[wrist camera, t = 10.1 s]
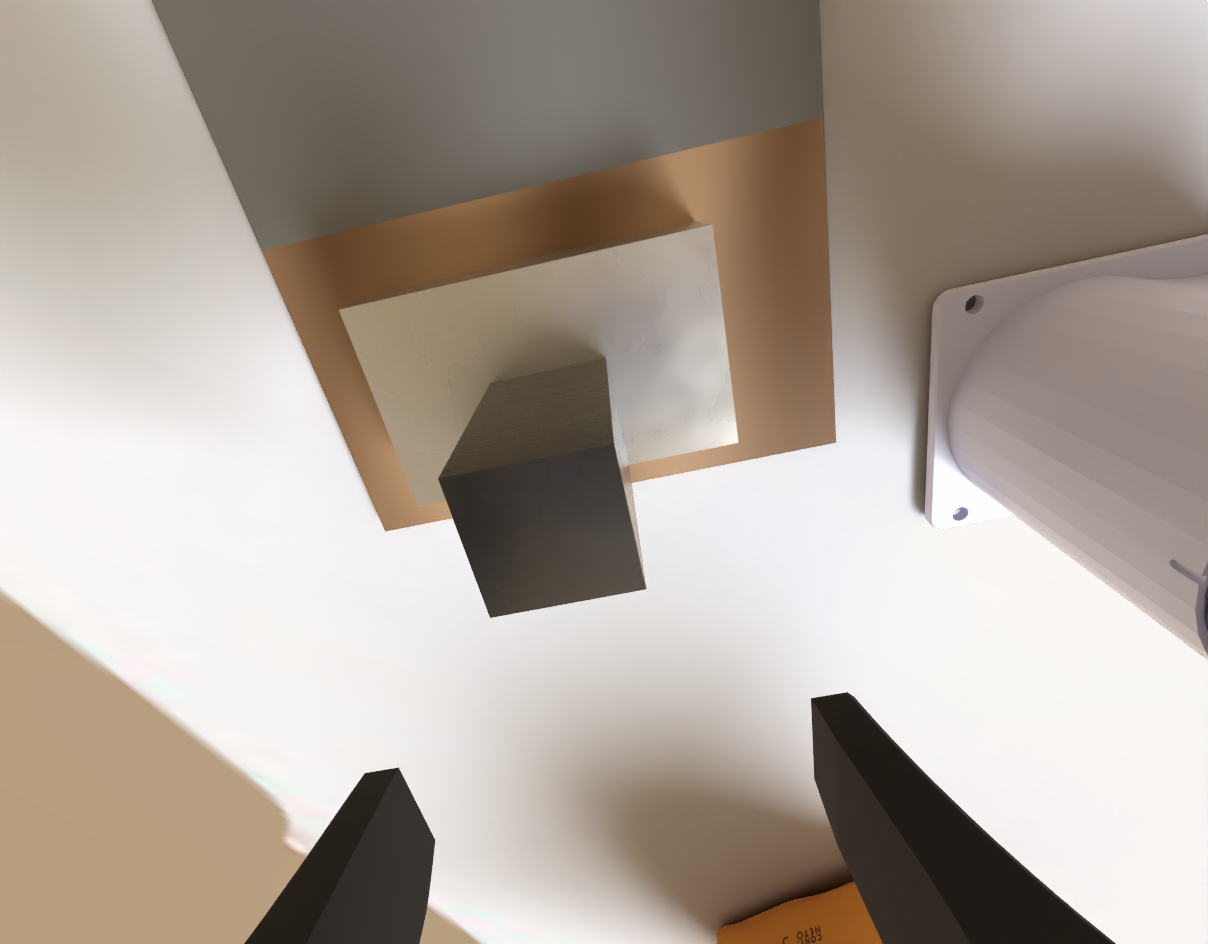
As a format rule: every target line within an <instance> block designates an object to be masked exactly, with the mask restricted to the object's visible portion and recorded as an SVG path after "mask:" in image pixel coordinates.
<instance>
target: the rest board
mask: <svg viewBox="0 0 1208 944" xmlns="http://www.w3.org/2000/svg"><path fill="white" fill-rule="evenodd" d="M691 221H699V222H703V223H708V224H713V232H714V241H715V249H716V258H717V266H718V274H719V283H720V291H721V300H722V308H723V316H724V325H725V333H726V342H727V350H728V359H729V367H730V375H731V384H732V392H733V401H734V409H735V417H736V426H737V434H738V443H735V444H730V445H725V446H720V447H715V448H710V449H705V450H700V451H695V452H690V453H685V454H680V455H675V456H670V457H665V458H660V459H655V460H650V461H645V462H640V463H635V464H630V465H629V470H630V477H631V483H633V482H638V481H643V480H648V479H653V478H658V477H663V476H669V475H674V474H679V473H684V472H689V471H694V470H699V469H704V468H709V467H714V466H719V465H724V464H729V463H734V462H740V461H745V460H750V459H755V458H760V457H765V456H770V455H775V454H780V453H785V452H790V451H795V450H800V449H805V448H811V447H816V446H821V445H826V444H831V443H836V431H835V405H834V379H833V353H832V327H831V301H830V274H829V248H828V222H827V196H826V170H825V144H824V118H818V119H814V120H810V121H806V122H802V123H797V124H793V125H789V126H785V127H781V128H776V129H772V130H768V131H764V132H760V133H755V134H751V135H747V136H743V137H738V138H734V139H730V140H726V141H722V142H717V143H713V144H709V145H705V146H701V147H696V148H692V149H688V150H684V151H680V152H675V153H671V154H667V155H663V156H658V157H654V158H650V159H646V160H642V161H637V162H633V163H629V164H625V165H621V166H616V167H612V168H608V169H604V170H600V171H595V172H591V173H587V174H583V175H579V176H574V177H570V178H566V179H562V180H557V181H553V182H549V183H545V184H541V185H536V186H532V187H528V188H524V189H520V190H515V191H511V192H507V193H503V194H499V195H494V196H490V197H486V198H482V199H477V200H473V201H469V202H465V203H461V204H456V205H452V206H448V207H444V208H440V209H435V210H431V211H427V212H423V213H419V214H414V215H410V216H406V217H402V218H398V219H393V220H389V221H385V222H381V223H376V224H372V225H368V226H364V227H360V228H355V229H351V230H347V231H343V232H339V233H334V234H330V235H326V236H322V237H318V238H313V239H309V240H305V241H301V242H296V243H292V244H288V245H284V246H280V247H275V248H271V249H267V250H263V251H262V252H263V254H264V257H265V259H266V261H267V263H268V266H269V268H270V270H271V272H272V275H273V277H274V279H275V282H276V284H277V286H278V288H279V291H280V293H281V295H282V297H283V300H284V302H285V304H286V307H287V309H288V311H289V313H290V316H291V318H292V320H293V322H294V325H295V327H296V329H297V332H298V334H299V336H300V338H301V341H302V343H303V345H304V347H305V350H306V352H307V354H308V357H309V359H310V361H311V363H312V366H313V368H314V370H315V372H316V375H317V377H318V379H319V382H320V384H321V386H322V388H323V391H324V393H325V395H326V397H327V400H328V402H329V404H330V407H331V409H332V411H333V413H334V416H335V418H336V420H337V422H338V425H339V427H340V429H341V432H342V434H343V436H344V438H345V441H346V443H347V445H348V447H349V450H350V452H351V454H352V457H353V459H354V461H355V463H356V466H357V468H358V470H359V472H360V475H361V477H362V479H363V482H364V484H365V486H366V488H367V491H368V493H369V495H370V497H371V500H372V502H373V504H374V507H375V509H376V511H377V513H378V516H379V518H380V520H381V522H382V525H383V527H384V529H385V531H390V530H395V529H400V528H405V527H410V526H415V525H420V524H425V523H430V522H435V521H440V520H445V519H450V518H453V517H452V515H451V512H450V509H449V507H448V504H447V502H446V501H445V502H440V503H435V504H430V505H425V506H420V507H418V506H417V503H416V501H415V498H414V496H413V493H412V491H411V488H410V486H409V483H408V481H407V478H406V476H405V473H404V471H403V468H402V466H401V463H400V461H399V459H398V456H397V454H396V451H395V449H394V446H393V444H392V441H391V439H390V436H389V434H388V431H387V429H386V426H385V424H384V421H383V419H382V416H381V414H380V411H379V409H378V406H377V404H376V401H375V399H374V396H373V394H372V392H371V389H370V387H369V384H368V382H367V379H366V377H365V374H364V372H363V369H362V367H361V364H360V362H359V359H358V357H357V354H356V352H355V349H354V347H353V344H352V342H351V339H350V337H349V334H348V332H347V329H346V327H345V325H344V322H343V320H342V317H341V315H340V312H339V309H341V308H344V307H346V306H348V305H351V304H353V303H355V302H357V301H360V300H362V299H364V298H366V297H369V296H371V295H373V294H377V293H381V292H385V291H390V290H394V289H398V288H403V287H407V286H412V285H416V284H420V283H425V282H429V281H433V280H438V279H442V278H447V277H451V276H455V275H460V274H464V273H468V272H473V271H477V270H481V269H486V268H490V267H495V266H499V265H503V264H508V263H512V262H516V261H521V260H525V259H529V258H534V257H538V256H543V255H547V254H551V253H556V252H560V251H564V250H569V249H573V248H577V247H582V246H586V245H591V244H595V243H599V242H604V241H608V240H612V239H617V238H621V237H626V236H630V235H634V234H639V233H643V232H647V231H652V230H656V229H660V228H665V227H669V226H674V225H678V224H682V223H687V222H691Z"/></svg>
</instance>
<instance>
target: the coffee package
mask: <svg viewBox="0 0 1208 944" xmlns="http://www.w3.org/2000/svg"><path fill="white" fill-rule="evenodd" d="M718 944H883V943H882V941H881V939H880V937H879V934H878V932H877V930H876V928H875V926H874V924H873V921H872V919H871V917H870V915H869V913H868V911H867V908H866V906H865V904H864V902H863V900H862V897H861V895H860V893H859V891H858V889H857V886H856V884H855V882H854V881H853V882H850V883H848V884H845V885H843V886H840V887H838V888H836V889H833V890H830V891H828V892H825V893H821V894H817V895H813V896H808V897H804V898H799V899H794V900H791V901H788V902H785V903H783V904H780V905H778V906H776V907H773V908H771V909H769V910H767V911H764V912H762V913H760V914H758V915H755V916H753V917H750V918H748V919H746V920H744V921H741V922H739V923H735V924H732V925H727V926H724V927H722V928H721V929H720V931H719V933H718Z"/></svg>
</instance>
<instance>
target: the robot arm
mask: <svg viewBox="0 0 1208 944" xmlns="http://www.w3.org/2000/svg"><path fill="white" fill-rule="evenodd" d="M974 295H975V298H976V302H975V305H974V306H973V307H972V309H971V310H968V311H966V309H965V305H966V302H967V301H968V300H969V298H970V297H972V296H974ZM960 507H962V508H961V510H960V511H959V512H958V513H957V514H955V515H953V512H954V511H955V510H956V509H958V508H960ZM1010 516H1016V517H1017V518H1019V519H1020V520H1021V521H1023V522H1024V523H1025V524H1027V525H1028V526H1029V527H1031V528H1032V529H1034V530H1035V531H1036V532H1038V533H1039V534H1040V535H1042V536H1043V537H1044V538H1046V539H1047V540H1048V541H1050V542H1051V543H1052V544H1054V545H1055V546H1056V547H1058V548H1059V549H1060V550H1062V551H1063V552H1064V553H1066V554H1067V555H1068V556H1070V557H1071V558H1072V559H1074V560H1075V561H1076V562H1078V563H1079V564H1080V565H1082V566H1083V567H1084V568H1086V569H1087V570H1088V571H1090V572H1091V573H1092V574H1094V575H1095V576H1096V577H1098V578H1099V579H1100V580H1102V581H1103V582H1104V583H1106V584H1107V585H1108V586H1110V587H1111V588H1112V589H1114V590H1115V591H1116V592H1118V593H1119V594H1120V595H1122V596H1123V597H1124V598H1126V599H1127V600H1128V601H1130V602H1131V603H1132V604H1134V605H1135V606H1136V607H1138V608H1139V609H1140V610H1142V611H1143V612H1144V613H1146V614H1147V615H1148V616H1150V617H1151V618H1152V619H1154V620H1155V621H1156V622H1158V623H1159V624H1160V625H1162V626H1163V627H1164V628H1166V629H1167V630H1169V631H1170V632H1171V633H1173V634H1174V635H1175V636H1177V637H1178V638H1179V639H1181V640H1182V641H1183V642H1185V643H1186V644H1187V645H1189V646H1190V647H1191V648H1193V649H1194V650H1195V651H1197V652H1198V653H1199V654H1201V655H1202V656H1203V657H1205V658H1206V659H1207V660H1208V234H1206V235H1201V236H1196V237H1192V238H1187V239H1182V240H1178V241H1173V242H1168V243H1164V244H1159V245H1154V246H1149V247H1145V248H1140V249H1135V250H1131V251H1126V252H1121V253H1117V254H1112V255H1107V256H1102V257H1098V258H1093V259H1088V260H1084V261H1079V262H1074V263H1070V264H1065V265H1060V266H1056V267H1051V268H1046V269H1041V270H1037V271H1032V272H1027V273H1023V274H1018V275H1013V276H1009V277H1004V278H999V279H995V280H990V281H985V282H980V283H976V284H971V285H966V286H962V287H957V288H952V289H949V290H947V291H944V292H943V293H942V294H940V295H939V296H938V297H937V299H936V301H935V302H934V305H933V309H932V332H931V359H930V387H929V414H928V441H927V469H926V496H925V518H926V520H927V521H928V522H929V523H930V524H931V525H932V526H933V527H935V528H938V529H944V528H950V527H955V526H961V525H966V524H972V523H977V522H982V521H988V520H993V519H999V518H1004V517H1010ZM811 707H812V731H813V754H814V778H815V782H816V784H817V787H818V790H819V793H820V796H821V799H822V802H823V805H824V808H825V811H826V814H827V816H828V819H829V822H830V825H831V828H832V830H833V833H834V836H835V839H836V842H837V844H838V847H839V849H840V851H841V853H842V856H843V858H844V860H845V862H846V865H847V867H848V869H849V871H850V873H851V875H852V878H853V880H854V882H855V884H856V886H857V889H858V891H859V893H860V895H861V897H862V900H863V902H864V904H865V906H866V908H867V911H868V913H869V915H870V917H871V919H872V921H873V924H874V926H875V928H876V930H877V932H878V934H879V937H880V939H881V941H882V943H883V944H1115V943H1114V942H1113V941H1112V940H1111V939H1109V938H1108V937H1107V936H1106V935H1104V934H1103V933H1102V932H1101V931H1099V930H1098V929H1097V928H1096V927H1095V926H1093V925H1092V924H1091V923H1090V922H1088V921H1087V920H1086V919H1085V918H1083V917H1082V916H1081V915H1080V914H1079V913H1077V912H1076V911H1075V910H1074V909H1073V908H1072V907H1070V906H1069V905H1068V904H1067V903H1066V902H1064V901H1063V900H1062V899H1061V898H1060V897H1059V896H1057V895H1056V894H1055V893H1054V892H1053V891H1052V890H1050V889H1049V888H1048V887H1047V886H1046V885H1045V884H1043V883H1042V882H1041V881H1040V880H1039V879H1038V878H1037V877H1035V876H1034V875H1033V874H1032V873H1031V872H1030V871H1029V870H1028V869H1026V868H1025V867H1024V866H1023V865H1022V864H1021V863H1020V862H1019V861H1017V860H1016V859H1015V858H1014V857H1013V856H1012V855H1011V854H1010V853H1008V852H1007V851H1006V850H1005V849H1004V848H1003V847H1002V846H1001V845H1000V844H998V843H997V842H996V841H995V840H994V839H993V838H992V837H991V836H990V835H989V834H988V833H987V832H985V831H984V830H983V829H982V828H981V827H980V826H979V825H978V824H977V823H976V822H975V821H974V820H973V819H972V818H971V817H970V816H968V815H967V814H966V813H965V812H964V811H963V810H962V809H961V808H960V807H959V806H958V805H957V804H956V803H955V802H954V801H953V800H952V799H951V798H950V797H949V796H948V795H947V794H946V793H945V792H944V791H943V790H942V789H941V788H940V787H939V786H937V785H936V784H935V783H934V782H933V781H932V780H931V779H930V778H929V777H928V776H927V775H926V774H925V773H924V772H923V771H922V770H921V769H920V768H919V767H918V765H917V764H916V763H915V762H914V761H913V760H912V759H911V758H910V757H909V756H908V755H907V754H906V753H905V752H904V751H903V750H902V749H901V748H900V747H899V746H898V745H897V744H896V743H895V742H894V740H893V739H892V738H891V737H890V736H889V735H888V734H887V733H886V732H885V731H884V730H883V729H882V728H881V727H880V725H879V724H878V723H877V722H876V721H875V720H874V719H873V718H872V717H871V715H870V714H869V713H868V712H867V711H866V710H865V709H864V708H863V707H862V705H861V704H860V703H859V702H858V701H857V700H856V699H855V697H854V696H852V695H851V694H849V693H841V694H835V695H829V696H823V697H817V698H811ZM434 846H435V839H434V837H433V835H432V833H431V831H430V829H429V827H428V825H427V823H426V821H425V819H424V817H423V815H422V813H421V811H420V809H419V807H418V805H417V803H416V801H415V799H414V797H413V795H412V793H411V791H410V789H409V787H408V785H407V783H406V781H405V779H404V777H403V775H402V773H401V771H400V769H399V768H394V769H388V770H382V771H376V772H370V773H365V774H364V775H363V777H362V778H361V780H360V781H359V782H358V784H357V785H356V787H355V788H354V789H353V791H352V792H351V794H350V795H349V797H348V798H347V799H346V801H345V802H344V804H343V805H342V807H341V808H340V810H339V811H338V812H337V814H336V815H335V817H334V818H333V820H332V821H331V823H330V824H329V825H328V827H327V828H326V830H325V831H324V833H323V834H322V836H321V837H320V839H319V840H318V841H317V843H316V844H315V846H314V847H313V849H312V850H311V851H310V853H309V854H308V856H307V857H306V859H305V860H304V862H303V863H302V864H301V866H300V867H299V869H298V870H297V872H296V873H295V874H294V876H293V877H292V879H291V880H290V881H289V883H288V884H287V886H286V887H285V888H284V890H283V891H282V893H281V894H280V895H279V897H278V898H277V900H276V901H275V902H274V904H273V905H272V907H271V908H270V909H269V911H268V912H267V914H266V915H265V917H264V918H263V919H262V921H261V922H260V923H259V925H258V926H257V928H256V929H255V930H254V932H253V933H252V934H251V935H250V937H249V938H248V939H247V941H246V942H245V943H244V944H419V942H420V938H421V934H422V929H423V924H424V920H425V915H426V910H427V904H428V897H429V889H430V882H431V873H432V864H433V855H434Z"/></svg>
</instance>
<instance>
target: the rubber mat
mask: <svg viewBox="0 0 1208 944" xmlns="http://www.w3.org/2000/svg"><path fill="white" fill-rule="evenodd" d="M152 2H153V4H154V6H155V9H156V11H157V13H158V16H159V18H160V20H161V22H162V25H163V27H164V29H165V31H166V34H167V36H168V38H169V41H170V43H171V45H172V47H173V50H174V52H175V54H176V56H177V59H178V61H179V63H180V66H181V68H182V70H183V72H184V75H185V77H186V79H187V81H188V84H189V86H190V88H191V91H192V93H193V95H194V97H195V100H196V102H197V104H198V106H199V109H200V111H201V113H202V116H203V118H204V120H205V122H206V125H207V127H208V129H209V131H210V134H211V136H212V138H213V141H214V143H215V145H216V147H217V150H218V152H219V154H220V156H221V159H222V161H223V163H224V166H225V168H226V170H227V172H228V175H229V177H230V179H231V181H232V184H233V186H234V188H235V191H236V193H237V195H238V197H239V200H240V202H241V204H242V206H243V209H244V211H245V213H246V216H247V218H248V220H249V222H250V225H251V227H252V229H253V232H254V234H255V236H256V238H257V241H258V243H259V245H260V247H261V250H262V251H263V250H267V249H271V248H275V247H280V246H284V245H288V244H292V243H296V242H301V241H305V240H309V239H313V238H318V237H322V236H326V235H330V234H334V233H339V232H343V231H347V230H351V229H355V228H360V227H364V226H368V225H372V224H376V223H381V222H385V221H389V220H393V219H398V218H402V217H406V216H410V215H414V214H419V213H423V212H427V211H431V210H435V209H440V208H444V207H448V206H452V205H456V204H461V203H465V202H469V201H473V200H477V199H482V198H486V197H490V196H494V195H499V194H503V193H507V192H511V191H515V190H520V189H524V188H528V187H532V186H536V185H541V184H545V183H549V182H553V181H557V180H562V179H566V178H570V177H574V176H579V175H583V174H587V173H591V172H595V171H600V170H604V169H608V168H612V167H616V166H621V165H625V164H629V163H633V162H637V161H642V160H646V159H650V158H654V157H658V156H663V155H667V154H671V153H675V152H680V151H684V150H688V149H692V148H696V147H701V146H705V145H709V144H713V143H717V142H722V141H726V140H730V139H734V138H738V137H743V136H747V135H751V134H755V133H760V132H764V131H768V130H772V129H776V128H781V127H785V126H789V125H793V124H797V123H802V122H806V121H810V120H814V119H818V118H823V92H822V66H821V40H820V14H819V0H152Z"/></svg>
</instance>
